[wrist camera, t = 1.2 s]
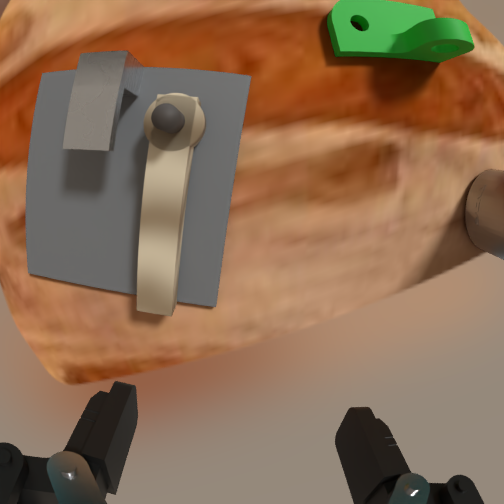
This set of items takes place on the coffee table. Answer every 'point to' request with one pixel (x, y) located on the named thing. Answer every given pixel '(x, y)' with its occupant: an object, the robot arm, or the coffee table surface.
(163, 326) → the coffee table surface
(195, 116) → the latch bar
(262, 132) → the coffee table surface
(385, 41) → the mechanical part
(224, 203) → the base plate
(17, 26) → the coffee table surface
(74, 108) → the keeper
